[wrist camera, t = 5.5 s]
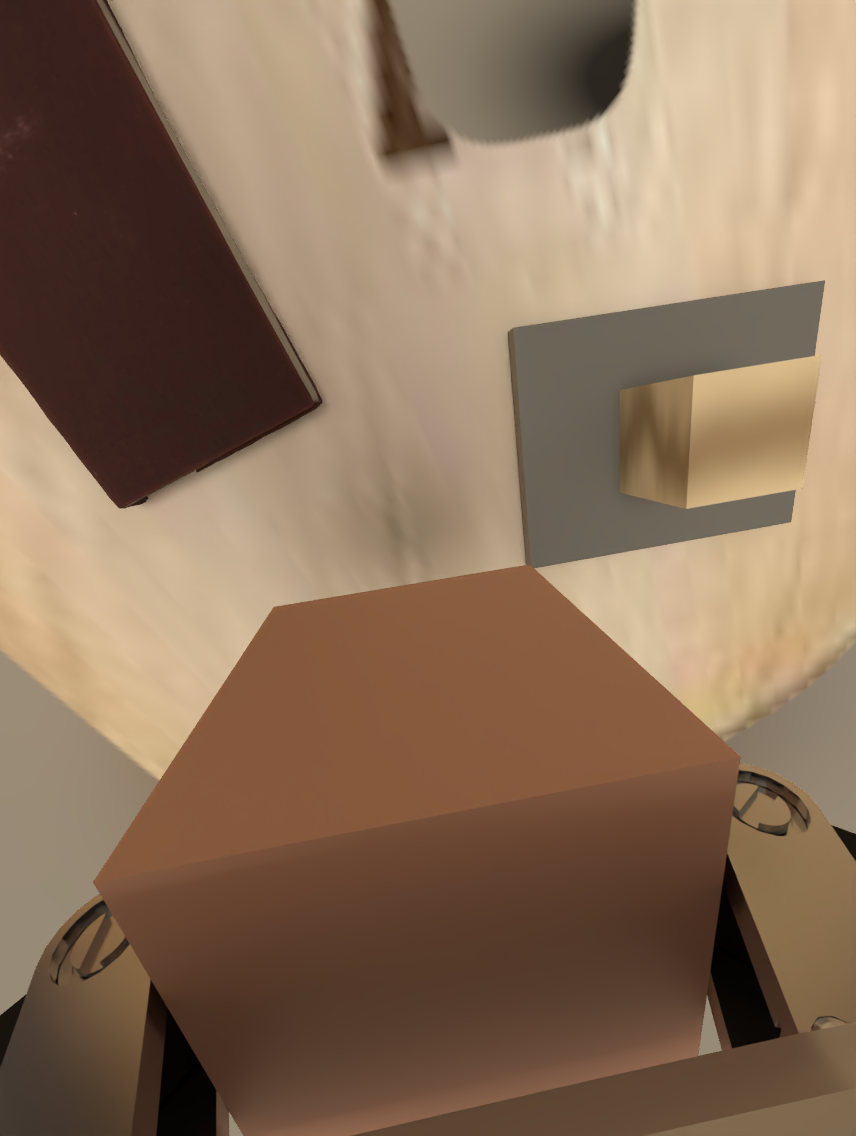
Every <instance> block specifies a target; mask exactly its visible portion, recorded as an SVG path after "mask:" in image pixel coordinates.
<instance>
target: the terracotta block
mask: <svg viewBox="0 0 856 1136" xmlns="http://www.w3.org/2000/svg"><path fill="white" fill-rule="evenodd" d="M740 758H741V757H740V756H739V755H738V754H737V753H736V752H734V750H733V749H732V748H730V747H729V746H728V745H727V744H726V743H725V742H724V741H723V740H722V739H721V738H719V737H718V736H717V735H716V734H715V733H714V732H713V731H712V730H711V729H710V728H708V727H707V726H706V725H705V724H704V723H703V722H702V721H701V720H700V719H699V718H697V717H696V716H695V715H694V714H693V713H692V712H691V711H690V710H689V709H688V708H686V707H685V706H684V705H683V704H682V703H681V702H680V701H679V700H678V699H677V698H676V697H674V696H673V695H672V694H671V693H670V692H669V691H668V690H667V689H666V688H665V687H663V686H662V685H661V684H660V683H659V682H658V681H657V680H656V679H655V678H654V677H652V676H651V675H650V674H649V673H648V672H647V671H646V670H645V669H644V668H643V667H641V666H640V665H639V664H638V663H637V662H636V661H635V660H634V659H633V658H632V657H630V656H629V655H628V654H627V653H626V652H625V651H624V650H623V649H622V648H621V647H619V646H618V645H617V644H616V643H615V642H614V641H613V640H612V639H611V638H610V637H609V636H607V635H606V634H605V633H604V632H603V631H602V630H601V629H600V628H599V627H598V626H596V625H595V624H594V623H593V622H592V621H591V620H590V619H589V618H588V617H587V616H585V615H584V614H583V613H582V612H581V611H580V610H579V609H578V608H577V607H576V606H574V605H573V604H572V603H571V602H570V601H569V600H568V599H567V598H566V597H565V596H563V595H562V594H561V593H560V592H559V591H558V590H557V589H556V588H555V587H554V586H553V585H551V584H550V583H549V582H548V581H547V580H546V579H545V578H544V577H543V576H542V575H540V574H539V573H538V572H537V571H536V570H535V569H534V568H533V567H532V566H531V565H524V566H518V567H512V568H506V569H500V570H494V571H488V572H482V573H476V574H470V575H464V576H458V577H452V578H446V579H440V580H434V581H428V582H422V583H416V584H410V585H404V586H398V587H392V588H386V589H380V590H374V591H368V592H361V593H355V594H349V595H343V596H337V597H331V598H325V599H319V600H313V601H307V602H301V603H295V604H289V605H283V606H277V607H274V608H273V609H272V611H271V612H270V614H269V615H268V617H267V618H266V620H265V621H264V623H263V624H262V626H261V627H260V629H259V630H258V632H257V633H256V635H255V636H254V638H253V639H252V641H251V642H250V644H249V646H248V647H247V649H246V650H245V652H244V653H243V655H242V656H241V658H240V659H239V661H238V662H237V664H236V665H235V667H234V668H233V670H232V671H231V673H230V674H229V676H228V677H227V679H226V681H225V682H224V684H223V685H222V687H221V688H220V690H219V691H218V693H217V694H216V696H215V697H214V699H213V700H212V702H211V703H210V705H209V706H208V708H207V709H206V711H205V712H204V714H203V716H202V717H201V719H200V720H199V722H198V723H197V725H196V726H195V728H194V729H193V731H192V732H191V734H190V735H189V737H188V738H187V740H186V741H185V743H184V744H183V746H182V747H181V749H180V751H179V752H178V754H177V755H176V757H175V758H174V760H173V761H172V763H171V764H170V766H169V767H168V769H167V770H166V772H165V773H164V775H163V776H162V778H161V779H160V781H159V782H158V784H157V786H156V787H155V789H154V790H153V792H152V793H151V795H150V796H149V798H148V799H147V801H146V802H145V804H144V805H143V807H142V808H141V810H140V812H139V813H138V814H137V816H136V817H135V819H134V821H133V822H132V824H131V825H130V827H129V828H128V830H127V831H126V833H125V834H124V836H123V837H122V839H121V841H120V842H119V843H118V845H117V846H116V848H115V850H114V851H113V853H112V854H111V856H110V857H109V859H108V860H107V862H106V863H105V865H104V866H103V868H102V869H101V871H100V872H99V874H98V876H97V877H96V879H95V880H94V881H93V883H94V885H95V886H96V888H97V890H98V891H99V893H100V895H101V896H102V898H103V900H104V901H105V903H106V905H107V906H108V908H109V910H110V912H111V913H112V915H113V917H114V918H115V920H116V922H117V923H118V925H119V927H120V928H121V930H122V932H123V933H124V935H125V937H126V938H127V940H128V942H129V944H130V945H131V947H132V949H133V950H134V952H135V954H136V955H137V957H138V959H139V960H140V962H141V964H142V965H143V967H144V969H145V971H146V972H147V974H148V976H149V977H150V979H151V981H152V982H153V984H154V986H155V987H156V989H157V991H158V992H159V994H160V996H161V997H162V999H163V1001H164V1003H165V1004H166V1006H167V1008H168V1009H169V1011H170V1013H171V1014H172V1016H173V1018H174V1019H175V1021H176V1023H177V1024H178V1026H179V1028H180V1029H181V1031H182V1033H183V1035H184V1036H185V1038H186V1040H187V1041H188V1043H189V1045H190V1046H191V1048H192V1050H193V1051H194V1053H195V1055H196V1056H197V1058H198V1060H199V1061H200V1063H201V1065H202V1067H203V1068H204V1070H205V1072H206V1073H207V1075H208V1077H209V1078H210V1080H211V1082H212V1083H213V1085H214V1087H215V1088H216V1090H217V1092H218V1093H219V1095H220V1097H221V1099H222V1100H223V1102H224V1104H225V1105H226V1107H227V1109H228V1110H229V1112H230V1114H231V1115H232V1117H233V1119H234V1120H235V1122H236V1124H237V1125H238V1127H239V1129H240V1130H241V1132H242V1134H243V1136H351V1135H356V1134H360V1133H364V1132H369V1131H373V1130H377V1129H382V1128H386V1127H390V1126H395V1125H399V1124H403V1123H408V1122H412V1121H416V1120H420V1119H425V1118H429V1117H433V1116H438V1115H442V1114H446V1113H451V1112H455V1111H459V1110H464V1109H468V1108H472V1107H477V1106H481V1105H485V1104H490V1103H494V1102H498V1101H503V1100H507V1099H511V1098H516V1097H520V1096H524V1095H529V1094H533V1093H537V1092H542V1091H546V1090H550V1089H555V1088H559V1087H564V1086H568V1085H572V1084H577V1083H581V1082H585V1081H590V1080H594V1079H598V1078H603V1077H607V1076H612V1075H616V1074H621V1073H625V1072H630V1071H634V1070H639V1069H643V1068H647V1067H652V1066H656V1065H661V1064H665V1063H670V1062H674V1061H679V1060H683V1059H688V1058H692V1057H697V1056H698V1053H699V1046H700V1039H701V1031H702V1025H703V1018H704V1011H705V1004H706V996H707V990H708V983H709V976H710V969H711V962H712V955H713V947H714V940H715V933H716V926H717V919H718V912H719V905H720V898H721V891H722V884H723V877H724V870H725V863H726V856H727V849H728V842H729V835H730V828H731V821H732V814H733V807H734V800H735V793H736V786H737V779H738V772H739V765H740Z"/></svg>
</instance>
